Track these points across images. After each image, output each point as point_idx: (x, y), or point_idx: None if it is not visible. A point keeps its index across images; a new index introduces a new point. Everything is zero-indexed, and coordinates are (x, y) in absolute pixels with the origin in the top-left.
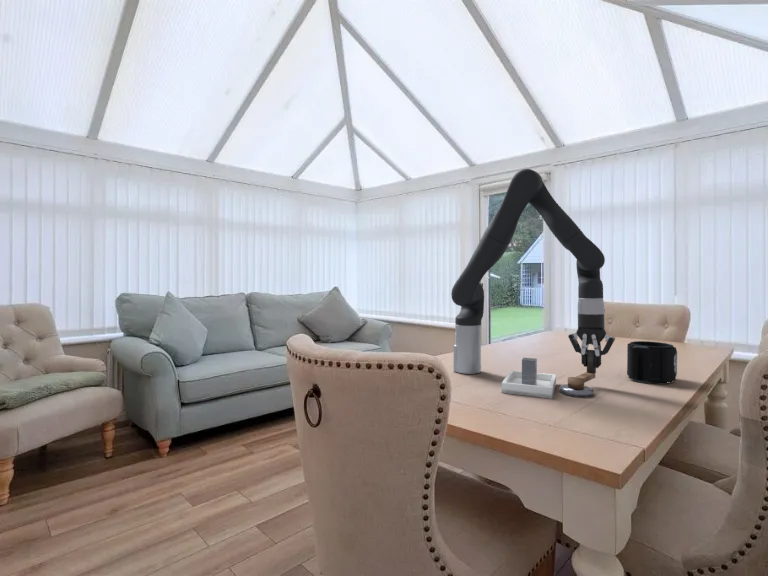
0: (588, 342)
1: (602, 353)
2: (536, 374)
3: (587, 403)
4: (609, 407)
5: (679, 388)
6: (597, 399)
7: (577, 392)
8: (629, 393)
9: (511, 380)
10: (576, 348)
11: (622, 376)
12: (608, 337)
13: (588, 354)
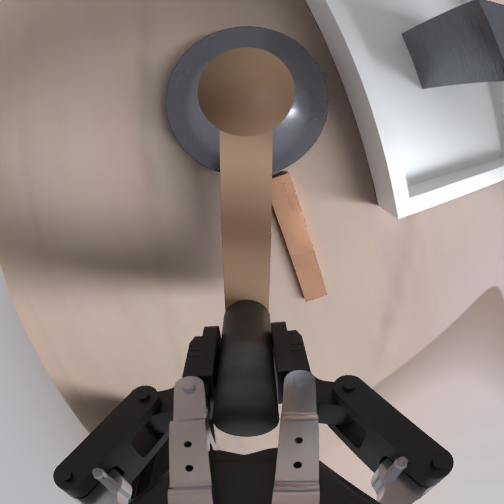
0: (259, 464)
1: (152, 392)
2: (444, 65)
3: (153, 2)
4: (83, 27)
5: (80, 396)
6: (140, 79)
7: (211, 35)
8: (101, 269)
9: (495, 96)
10: (356, 396)
11: (223, 435)
12: (94, 501)
13: (256, 379)
